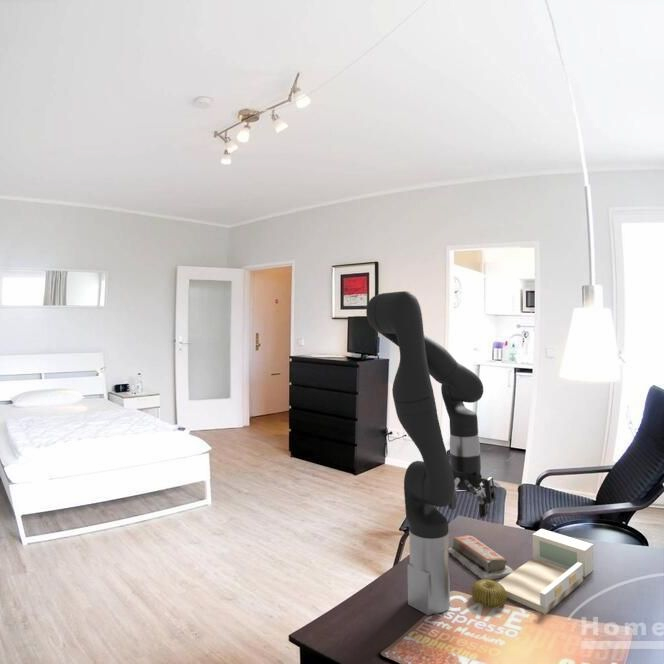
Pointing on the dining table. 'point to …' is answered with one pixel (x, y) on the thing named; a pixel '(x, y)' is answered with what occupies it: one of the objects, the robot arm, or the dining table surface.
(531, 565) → the shelf board
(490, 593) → the sculpture
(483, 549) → the packaged product
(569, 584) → the rail
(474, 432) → the robot arm
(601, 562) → the dining table surface
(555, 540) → the carton
